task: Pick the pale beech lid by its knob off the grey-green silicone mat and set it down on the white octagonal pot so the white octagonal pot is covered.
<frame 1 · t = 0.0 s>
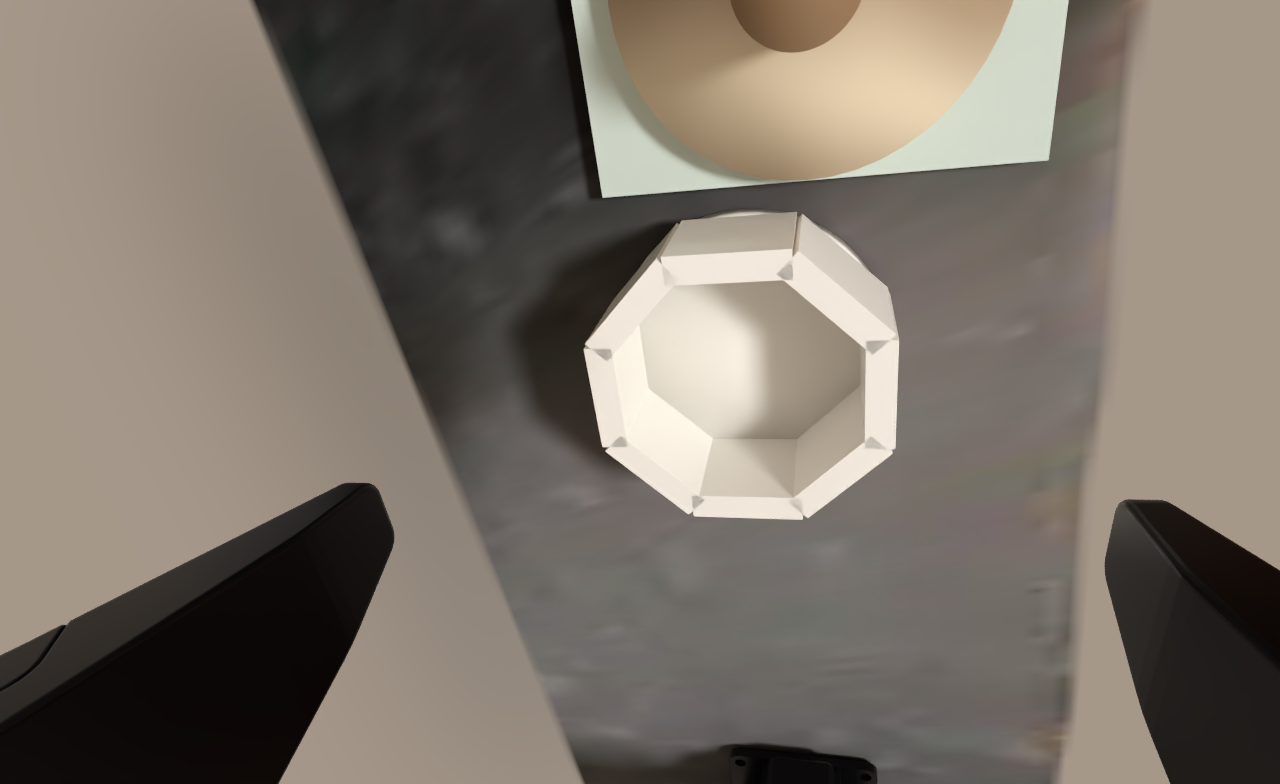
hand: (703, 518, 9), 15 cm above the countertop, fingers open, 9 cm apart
white octagonal pot: (749, 336, 24), on the countertop
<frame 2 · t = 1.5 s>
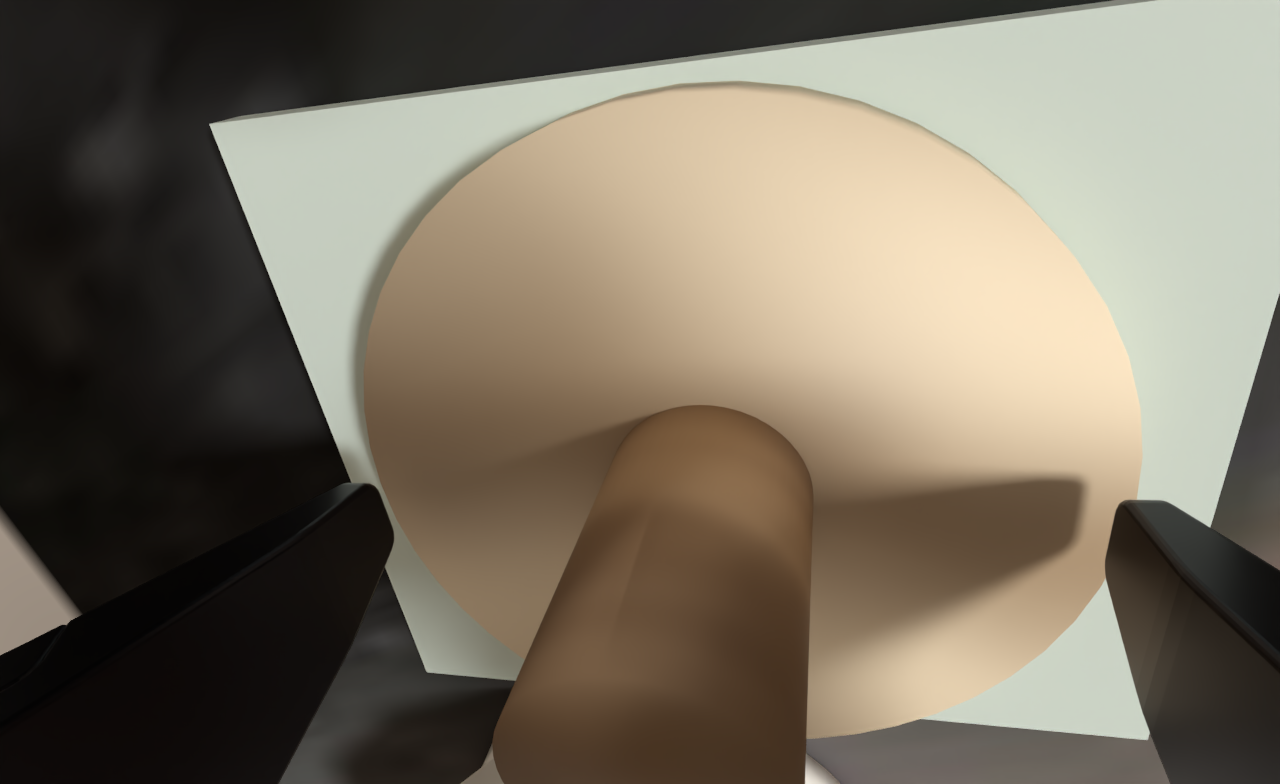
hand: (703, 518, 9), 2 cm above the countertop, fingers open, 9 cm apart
lid: (717, 457, 10), point 1 cm above the countertop, touching mat
mat: (722, 434, 11), on the countertop
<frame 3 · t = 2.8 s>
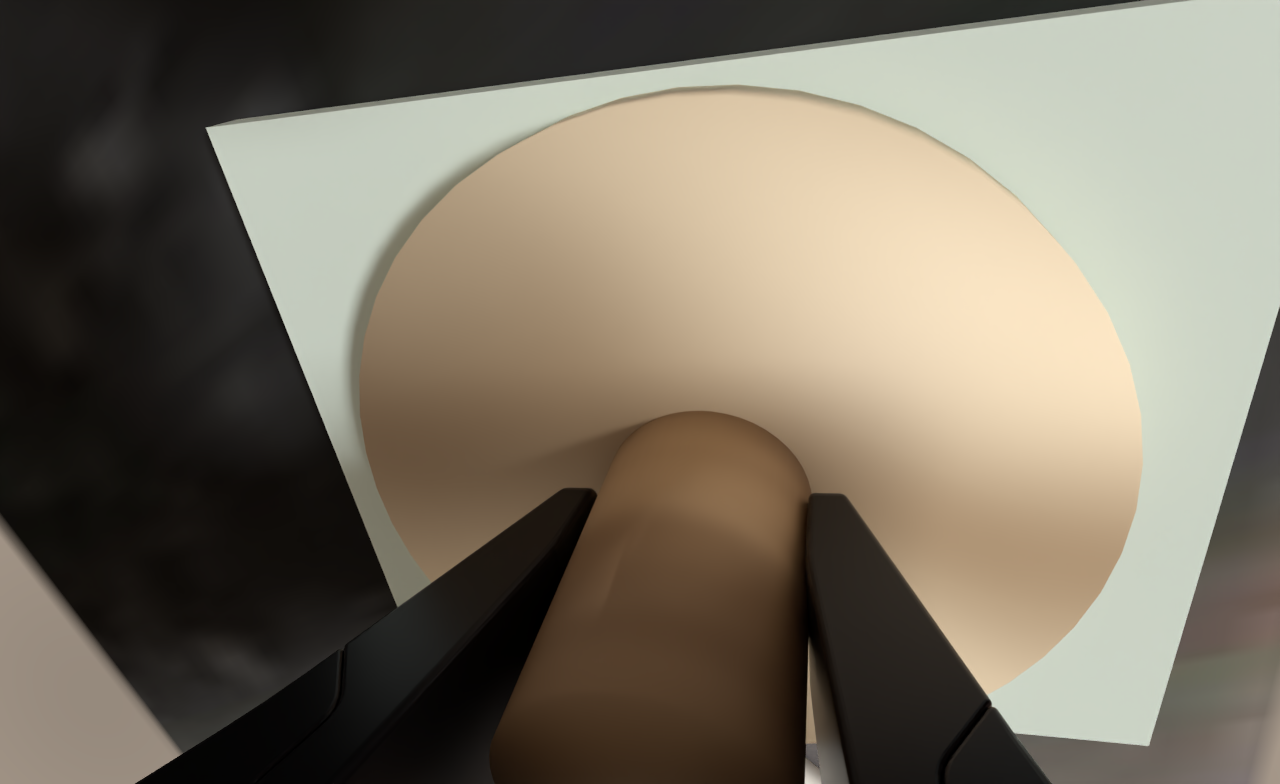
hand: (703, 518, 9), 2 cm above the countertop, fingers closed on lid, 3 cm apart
lid: (715, 462, 10), point 1 cm above the countertop, touching gripper, mat
mat: (721, 438, 11), on the countertop
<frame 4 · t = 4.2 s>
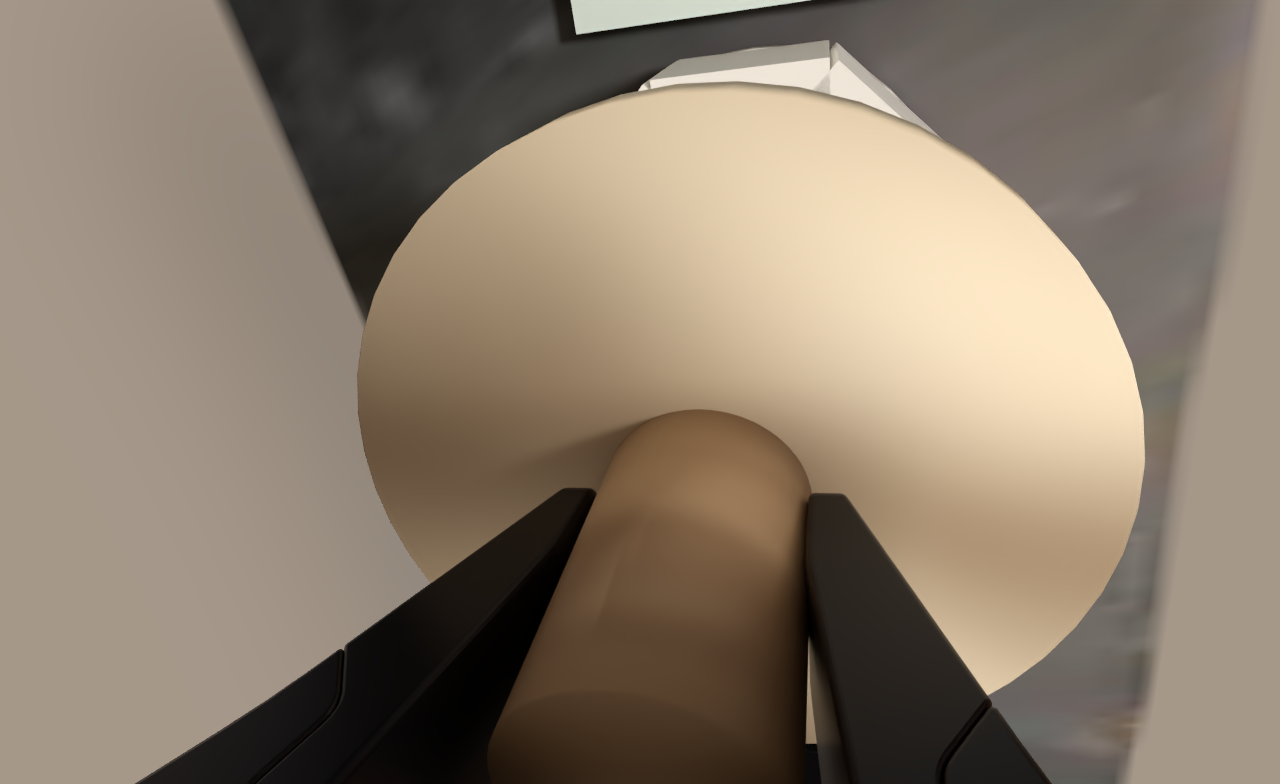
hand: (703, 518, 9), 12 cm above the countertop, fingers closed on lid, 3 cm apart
white octagonal pot: (765, 224, 19), on the countertop
lid: (715, 461, 10), point 11 cm above the countertop, touching gripper
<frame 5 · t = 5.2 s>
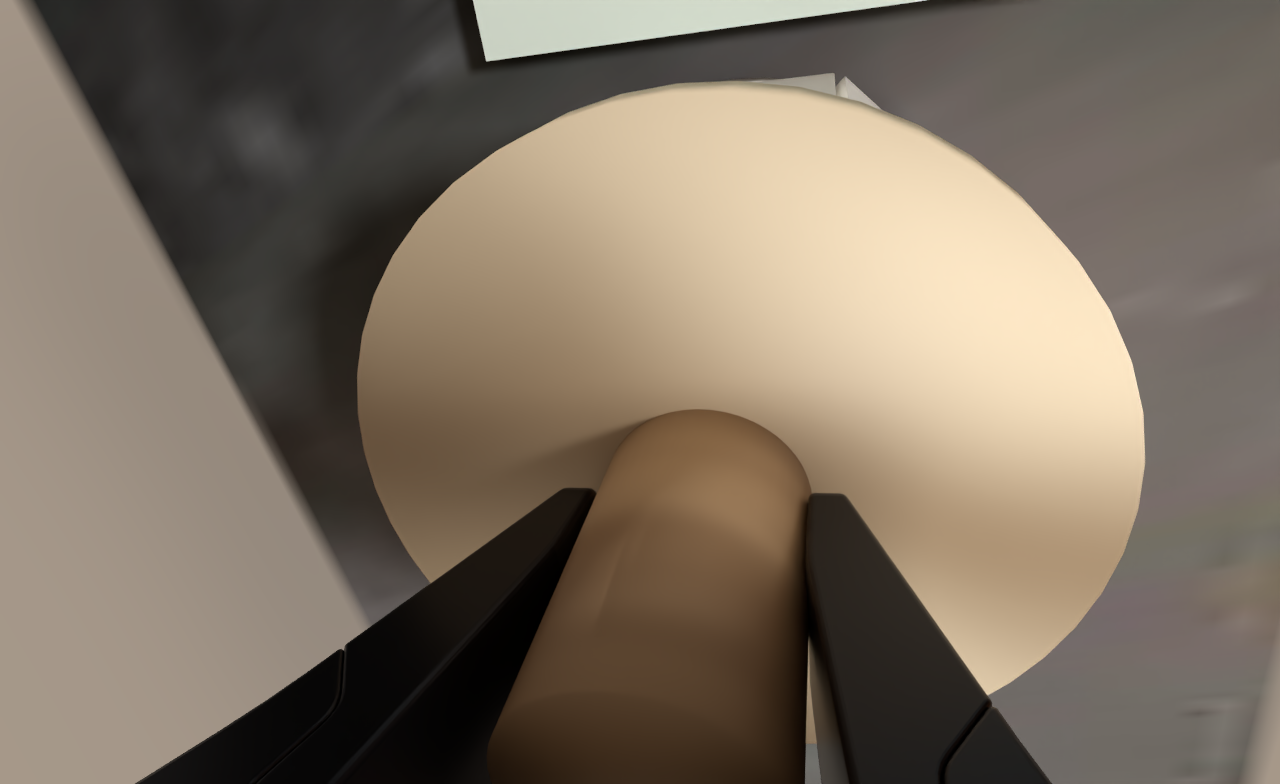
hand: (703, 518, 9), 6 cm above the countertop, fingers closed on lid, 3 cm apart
white octagonal pot: (747, 311, 14), on the countertop
lid: (715, 461, 10), point 5 cm above the countertop, touching gripper
when the fingers open (6 cm above the countertop, at t = 5.8 s): lid stays where it is, resting on white octagonal pot.
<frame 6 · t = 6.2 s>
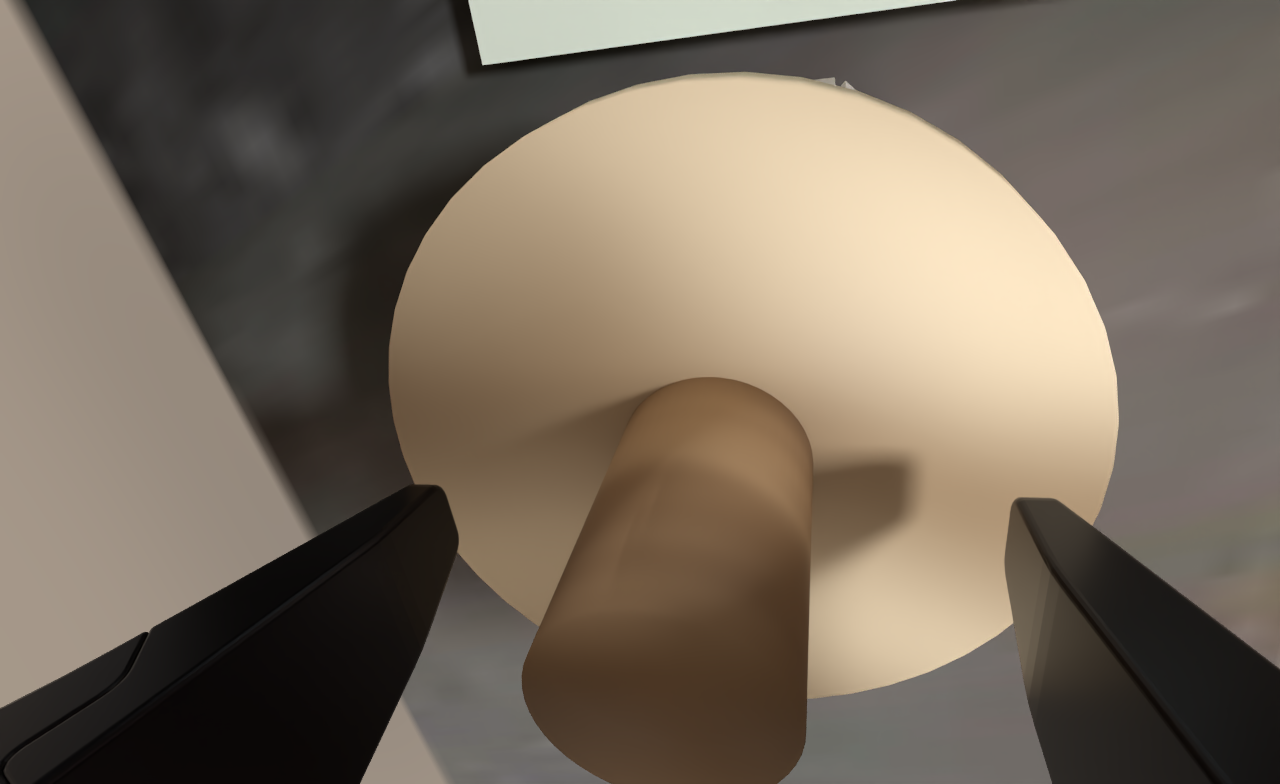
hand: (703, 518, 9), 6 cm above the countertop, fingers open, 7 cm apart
lid: (722, 429, 11), point 4 cm above the countertop, touching white octagonal pot
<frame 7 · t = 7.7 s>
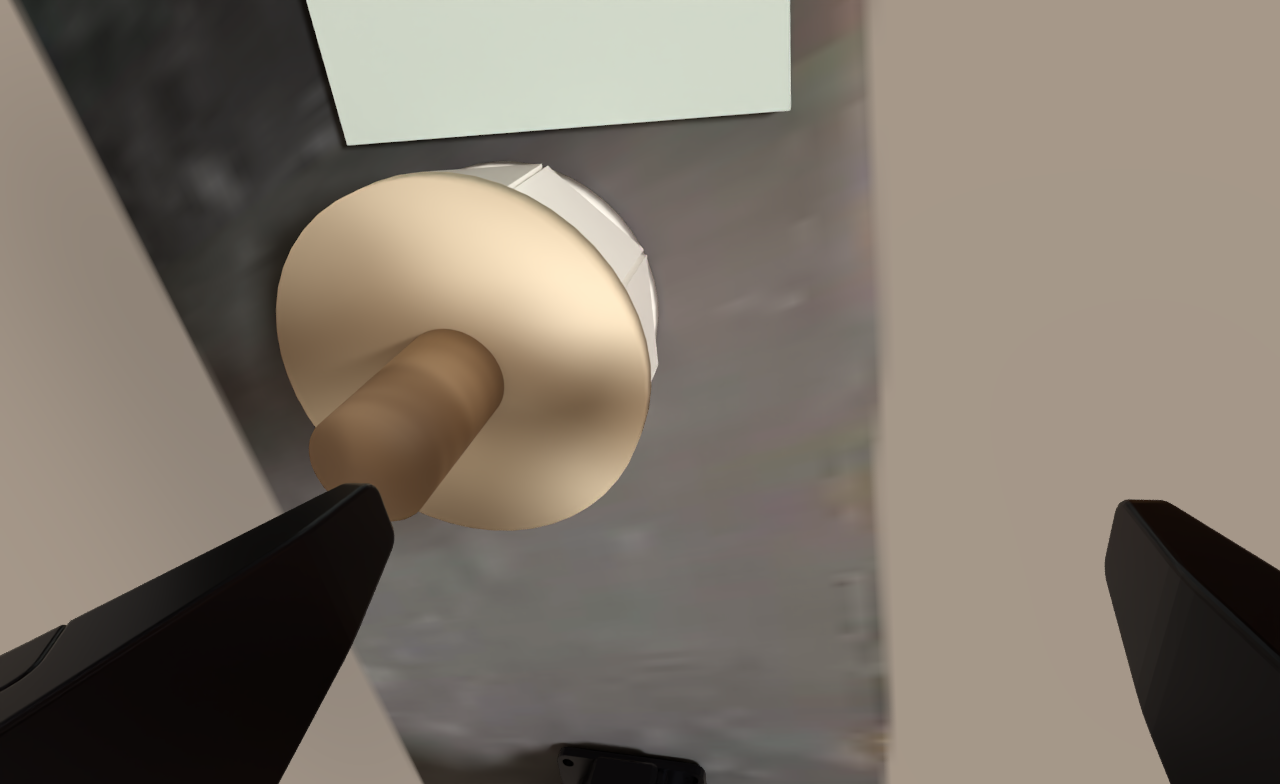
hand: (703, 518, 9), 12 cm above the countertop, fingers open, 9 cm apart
white octagonal pot: (522, 303, 22), on the countertop
lid: (467, 362, 19), point 4 cm above the countertop, touching white octagonal pot
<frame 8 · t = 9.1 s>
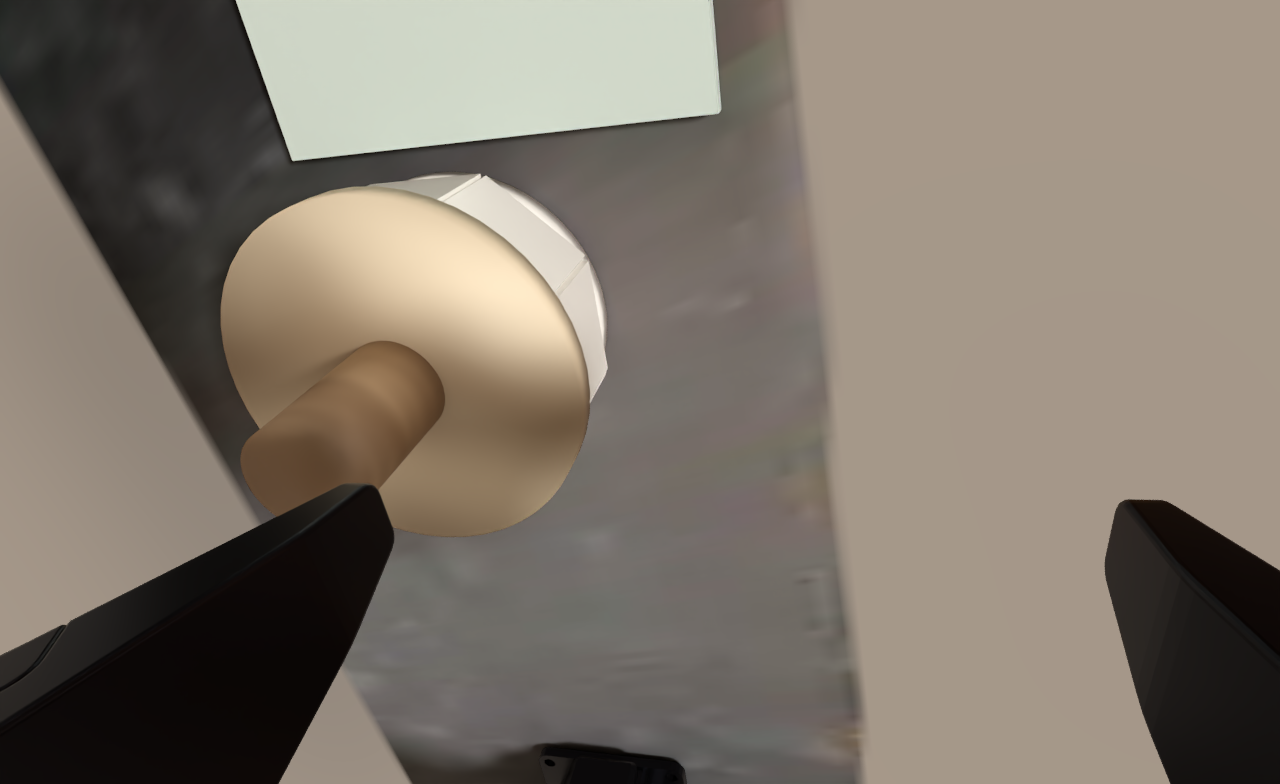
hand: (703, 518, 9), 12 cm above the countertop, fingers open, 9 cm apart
white octagonal pot: (474, 311, 22), on the countertop
lid: (411, 372, 19), point 4 cm above the countertop, touching white octagonal pot
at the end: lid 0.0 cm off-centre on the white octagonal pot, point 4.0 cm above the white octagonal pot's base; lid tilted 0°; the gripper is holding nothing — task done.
